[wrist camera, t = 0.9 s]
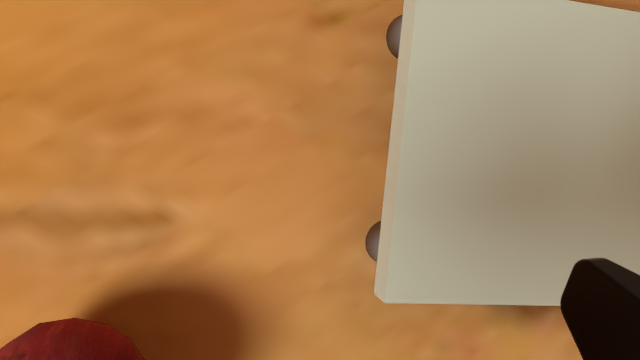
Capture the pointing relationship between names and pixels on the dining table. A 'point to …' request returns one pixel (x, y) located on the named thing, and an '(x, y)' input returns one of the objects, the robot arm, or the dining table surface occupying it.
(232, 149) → the dining table surface
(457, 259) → the shelf
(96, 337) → the onion
